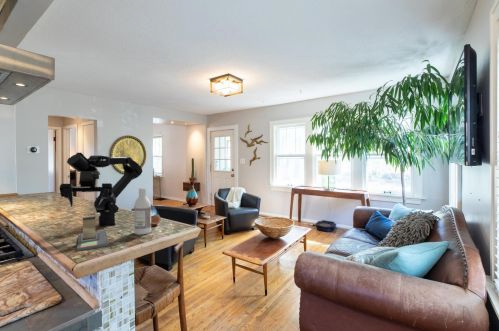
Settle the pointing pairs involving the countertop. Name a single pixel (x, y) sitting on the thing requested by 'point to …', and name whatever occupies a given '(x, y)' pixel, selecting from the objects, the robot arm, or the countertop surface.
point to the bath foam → (142, 214)
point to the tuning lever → (88, 228)
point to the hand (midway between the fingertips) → (85, 205)
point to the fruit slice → (155, 220)
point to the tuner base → (93, 241)
